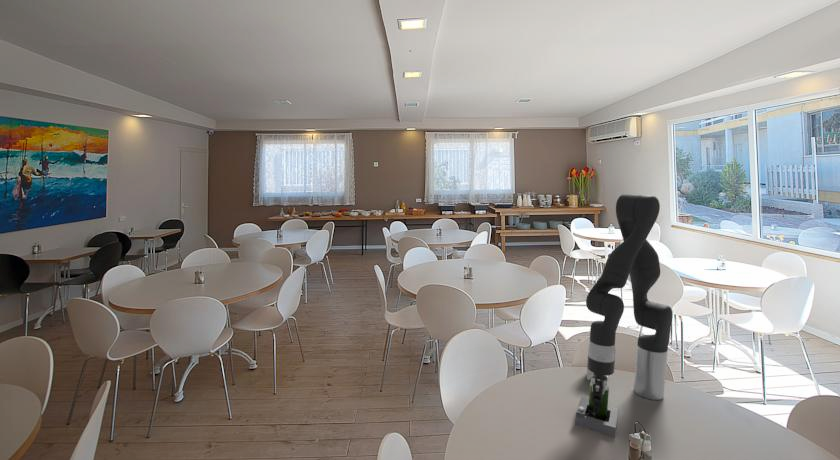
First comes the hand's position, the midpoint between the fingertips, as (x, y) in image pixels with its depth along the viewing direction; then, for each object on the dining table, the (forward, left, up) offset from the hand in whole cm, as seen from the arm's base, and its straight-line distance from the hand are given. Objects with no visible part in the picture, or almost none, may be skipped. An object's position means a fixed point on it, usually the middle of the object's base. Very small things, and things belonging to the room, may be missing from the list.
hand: (598, 407), depth 122 cm
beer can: (0, 0, -4) cm, 4 cm away
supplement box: (-31, -3, -5) cm, 31 cm away
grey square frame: (0, 0, -5) cm, 5 cm away
